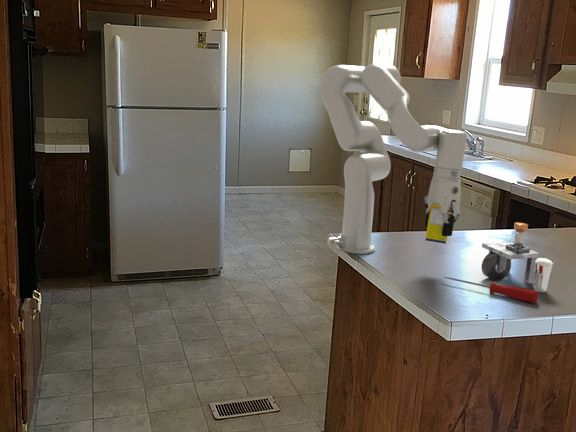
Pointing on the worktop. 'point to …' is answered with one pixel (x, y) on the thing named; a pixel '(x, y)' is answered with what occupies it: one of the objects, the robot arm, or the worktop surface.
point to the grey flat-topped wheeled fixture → (506, 260)
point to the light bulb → (519, 234)
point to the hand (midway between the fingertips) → (437, 230)
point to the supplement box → (436, 225)
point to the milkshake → (542, 274)
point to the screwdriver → (508, 291)
